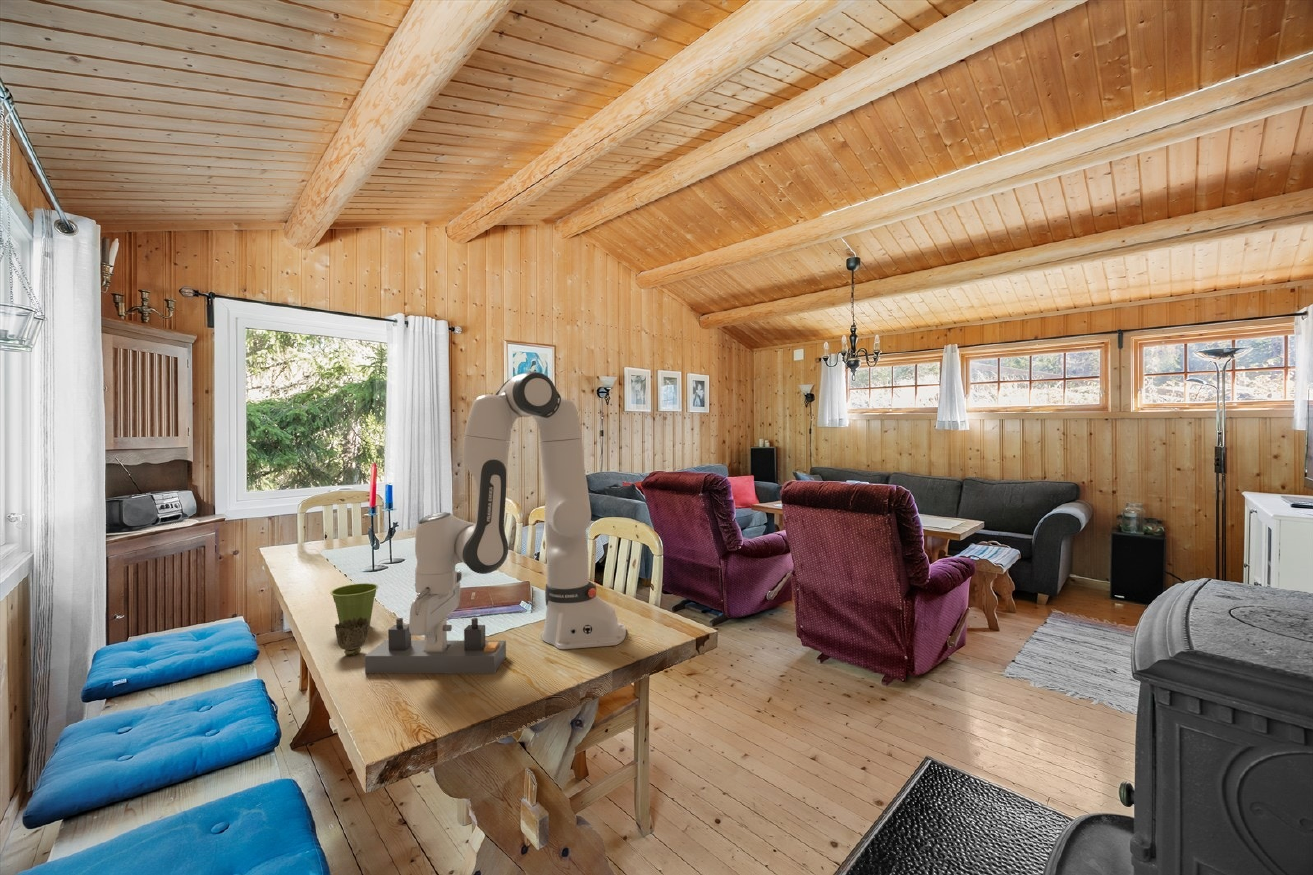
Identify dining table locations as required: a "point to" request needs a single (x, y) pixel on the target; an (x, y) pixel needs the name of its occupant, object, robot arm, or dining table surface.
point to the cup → (352, 635)
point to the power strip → (436, 653)
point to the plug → (439, 637)
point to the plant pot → (354, 601)
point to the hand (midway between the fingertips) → (436, 639)
